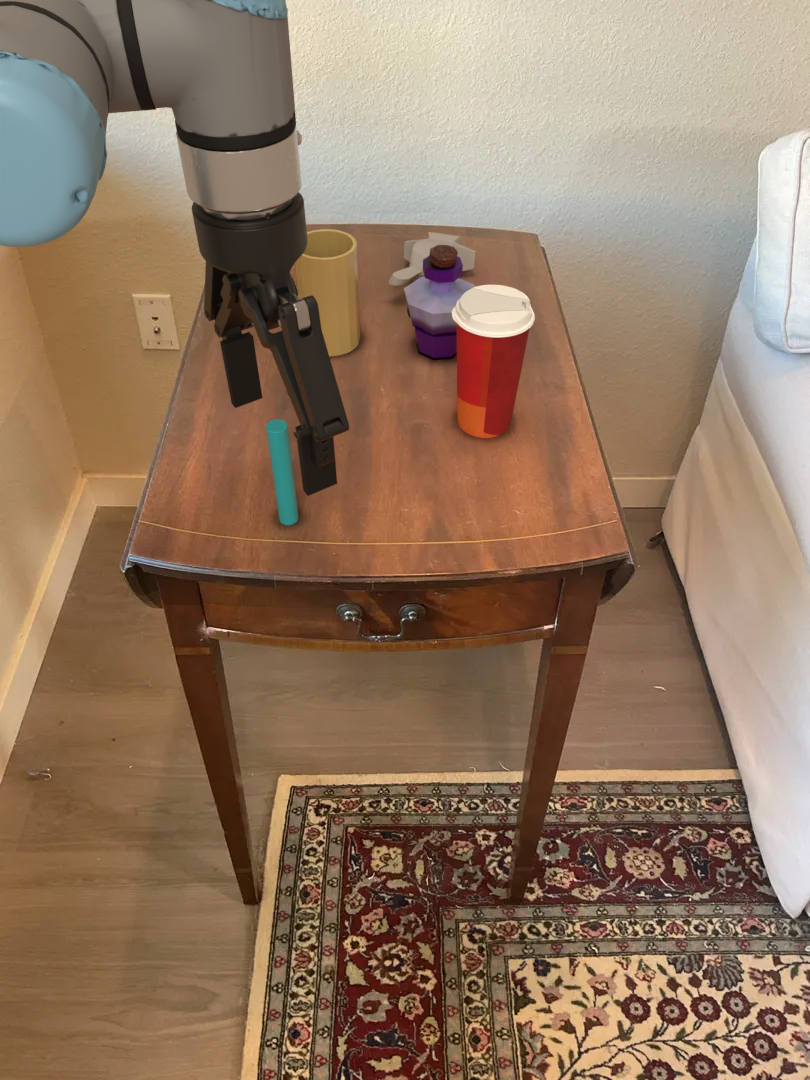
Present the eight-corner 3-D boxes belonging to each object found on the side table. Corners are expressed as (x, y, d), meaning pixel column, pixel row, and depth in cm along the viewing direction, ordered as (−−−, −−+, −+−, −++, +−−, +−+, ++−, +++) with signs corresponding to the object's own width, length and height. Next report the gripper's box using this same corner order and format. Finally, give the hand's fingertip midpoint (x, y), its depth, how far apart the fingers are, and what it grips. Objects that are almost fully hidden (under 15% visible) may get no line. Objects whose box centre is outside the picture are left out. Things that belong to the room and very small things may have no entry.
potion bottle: (412, 322, 101) (414, 227, 93) (482, 332, 100) (490, 237, 91) (393, 361, 95) (393, 264, 87) (467, 373, 94) (475, 275, 85)
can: (319, 362, 95) (311, 265, 86) (292, 335, 99) (282, 238, 90) (370, 345, 98) (368, 248, 89) (341, 318, 102) (336, 223, 93)
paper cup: (520, 401, 90) (536, 283, 80) (520, 447, 85) (536, 327, 75) (448, 397, 91) (454, 279, 81) (443, 442, 86) (450, 321, 75)
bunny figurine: (484, 229, 109) (458, 271, 98) (480, 267, 113) (454, 312, 102) (414, 219, 111) (381, 259, 100) (413, 257, 114) (380, 300, 103)
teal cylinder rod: (284, 528, 77) (271, 434, 69) (275, 516, 78) (262, 423, 70) (302, 520, 78) (291, 427, 70) (292, 509, 79) (281, 416, 71)
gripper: (394, 257, 50) (397, 510, 65) (221, 124, 64) (257, 357, 80) (281, 292, 47) (313, 549, 62) (127, 145, 62) (183, 383, 77)
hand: (281, 442), depth 71 cm, fingers open, 13 cm apart
